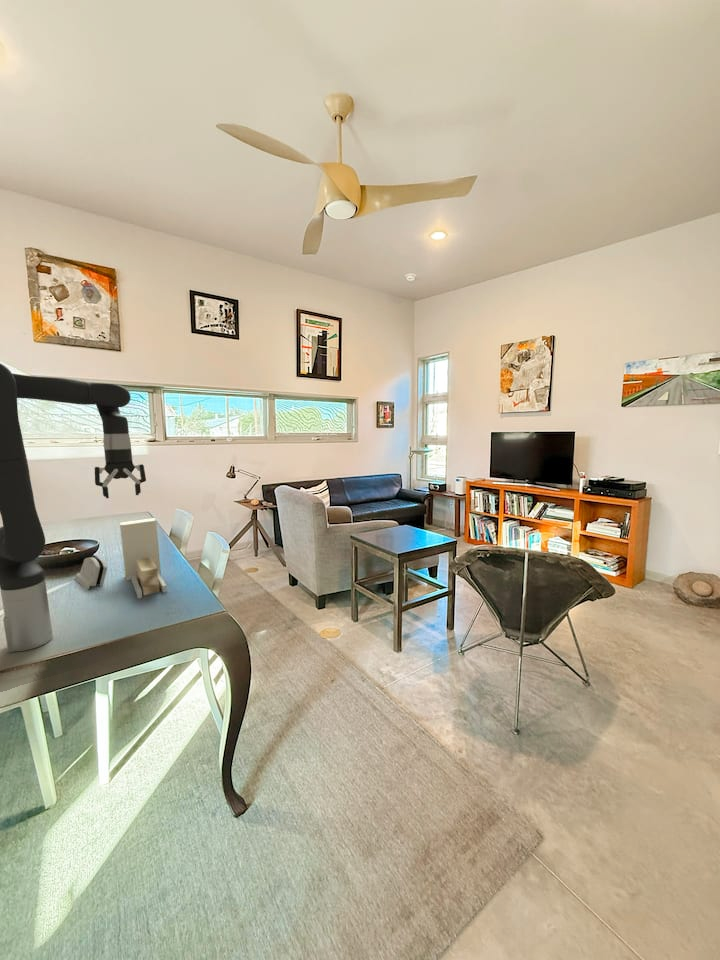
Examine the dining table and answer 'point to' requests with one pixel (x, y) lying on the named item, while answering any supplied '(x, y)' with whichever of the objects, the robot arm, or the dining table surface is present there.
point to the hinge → (92, 573)
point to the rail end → (147, 576)
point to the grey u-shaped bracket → (140, 549)
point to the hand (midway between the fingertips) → (122, 496)
